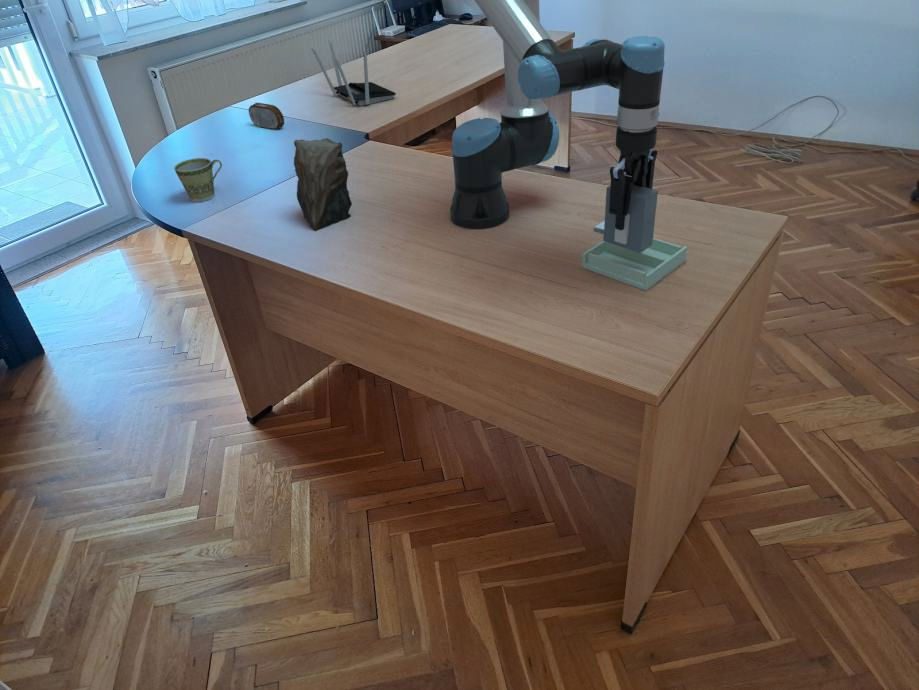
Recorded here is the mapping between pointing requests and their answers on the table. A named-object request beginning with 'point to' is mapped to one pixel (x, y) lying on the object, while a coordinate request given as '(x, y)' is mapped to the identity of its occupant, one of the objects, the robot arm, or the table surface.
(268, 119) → the tin
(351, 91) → the wireless router
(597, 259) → the green divided tray
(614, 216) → the blue-grey rectangular block
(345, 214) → the rock
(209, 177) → the ceramic cup
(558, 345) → the table surface
